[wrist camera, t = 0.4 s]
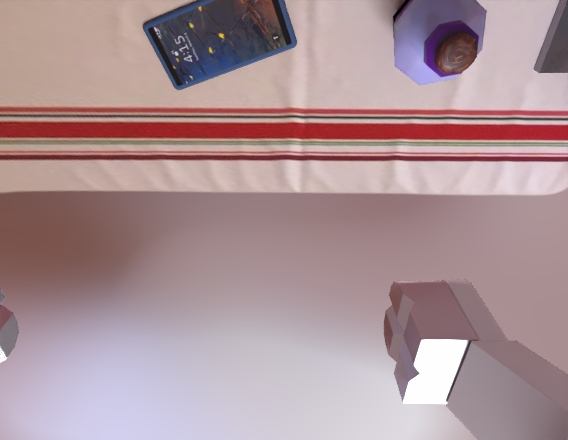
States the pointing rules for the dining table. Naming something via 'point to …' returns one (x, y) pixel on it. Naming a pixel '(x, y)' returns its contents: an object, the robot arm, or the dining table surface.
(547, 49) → the beam stand
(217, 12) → the smartphone
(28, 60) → the dining table surface
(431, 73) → the potion bottle
